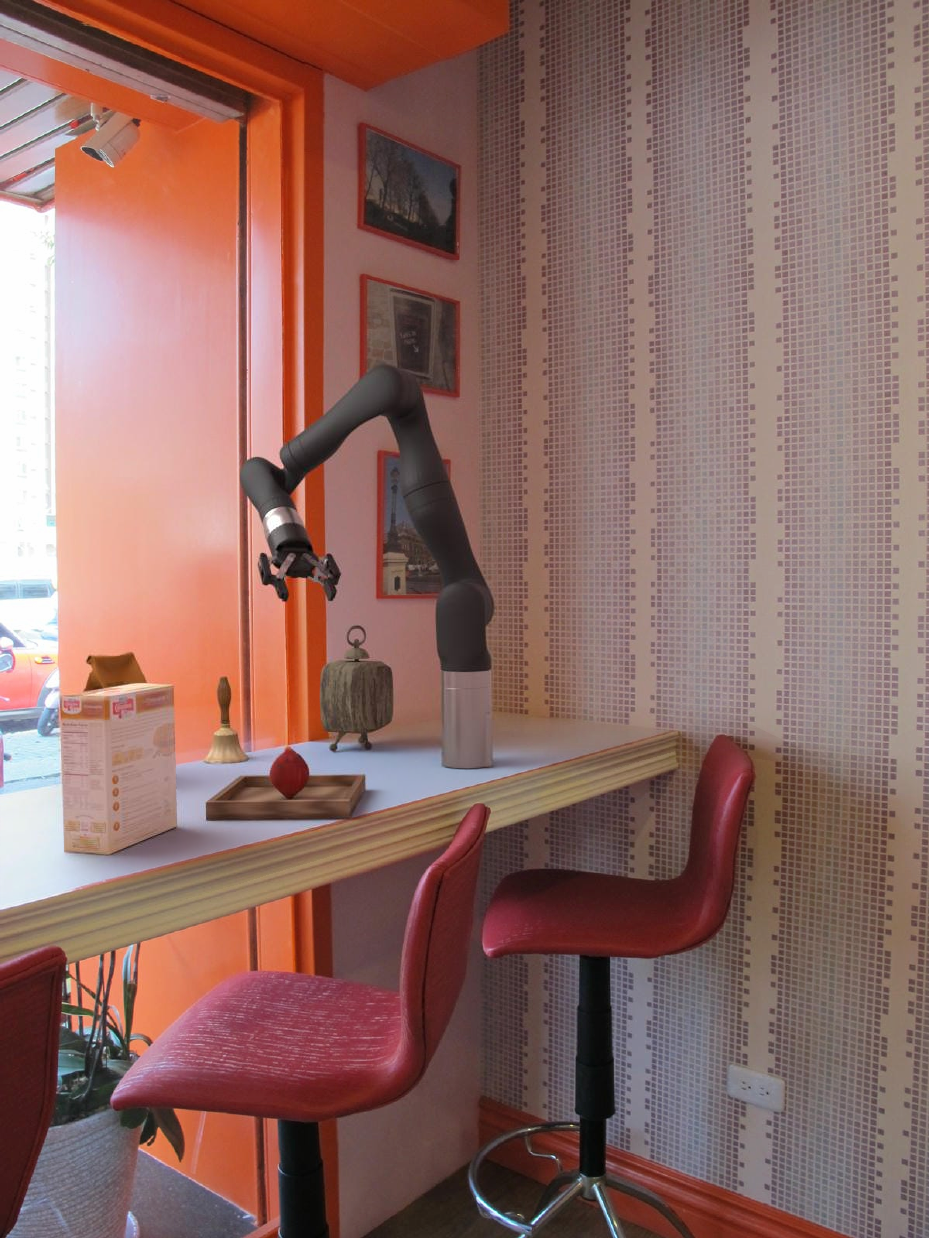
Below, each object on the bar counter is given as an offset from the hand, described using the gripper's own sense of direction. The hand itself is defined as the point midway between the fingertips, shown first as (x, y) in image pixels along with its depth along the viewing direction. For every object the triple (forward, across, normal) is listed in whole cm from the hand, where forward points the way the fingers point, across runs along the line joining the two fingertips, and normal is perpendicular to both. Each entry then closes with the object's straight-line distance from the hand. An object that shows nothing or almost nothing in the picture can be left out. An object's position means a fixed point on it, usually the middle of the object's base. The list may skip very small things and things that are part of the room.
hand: (309, 598), depth 172 cm
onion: (+38, -12, +4) cm, 40 cm away
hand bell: (+7, -10, +36) cm, 38 cm away
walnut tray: (+39, -12, +5) cm, 41 cm away
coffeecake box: (+45, -38, -1) cm, 59 cm away
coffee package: (+17, -32, +27) cm, 45 cm away
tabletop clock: (+8, +17, +35) cm, 40 cm away
